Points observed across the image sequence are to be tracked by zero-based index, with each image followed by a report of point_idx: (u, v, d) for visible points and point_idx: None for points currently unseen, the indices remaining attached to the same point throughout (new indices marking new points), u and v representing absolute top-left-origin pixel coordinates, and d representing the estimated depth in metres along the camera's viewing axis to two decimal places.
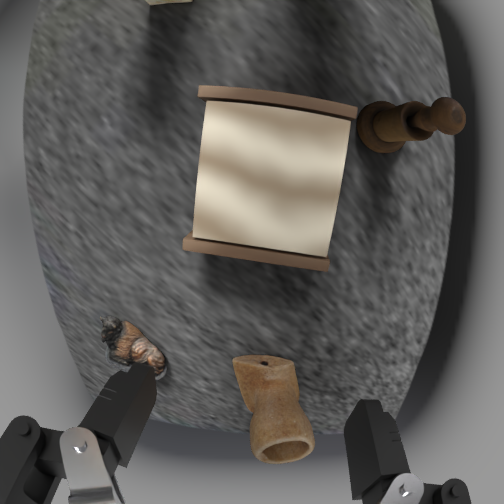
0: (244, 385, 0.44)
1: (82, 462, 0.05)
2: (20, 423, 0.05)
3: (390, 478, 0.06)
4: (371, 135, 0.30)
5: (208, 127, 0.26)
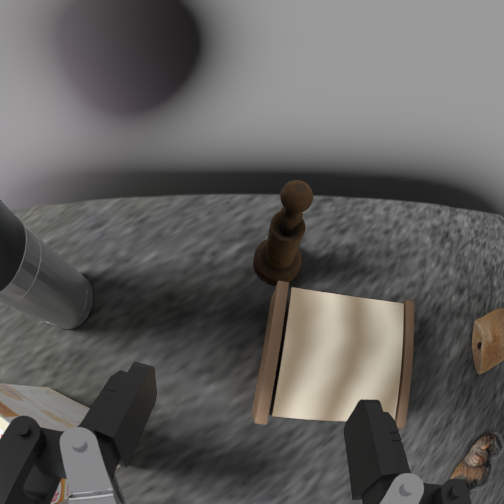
0: (498, 358, 0.33)
1: (82, 462, 0.05)
2: (20, 423, 0.05)
3: (390, 478, 0.06)
4: (289, 270, 0.38)
5: (299, 413, 0.26)
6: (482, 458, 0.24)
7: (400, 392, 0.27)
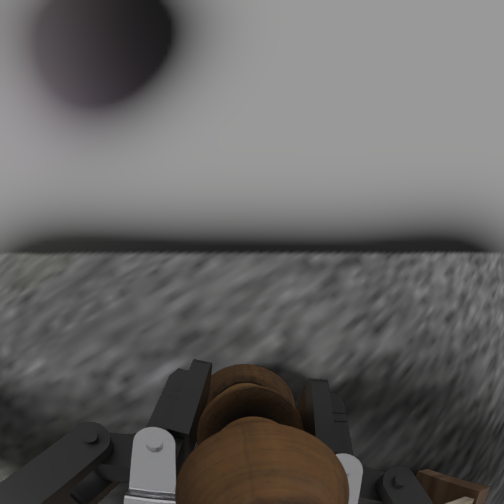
0: None
1: (162, 462, 0.06)
2: (88, 430, 0.06)
3: None
4: None
5: None
6: None
7: None
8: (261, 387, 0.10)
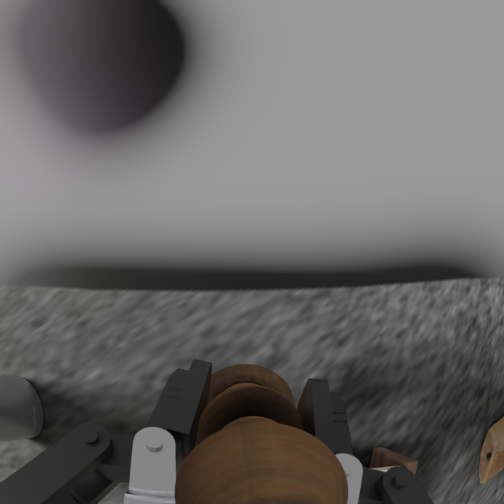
0: None
1: (162, 462, 0.06)
2: (88, 430, 0.06)
3: None
4: None
5: None
6: None
7: None
8: (261, 387, 0.10)
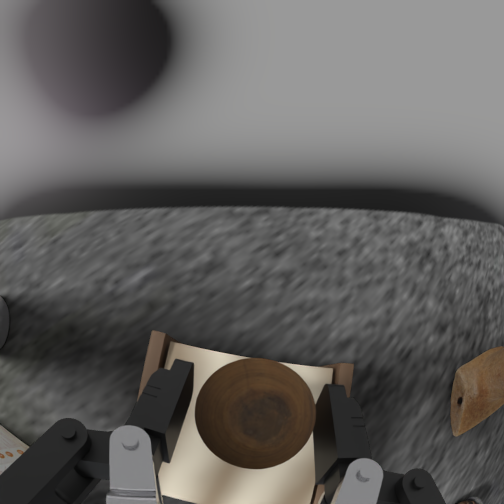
0: (484, 414, 0.24)
1: (137, 461, 0.06)
2: (66, 426, 0.06)
3: (349, 462, 0.07)
4: None
5: (173, 492, 0.17)
6: None
7: None
8: None
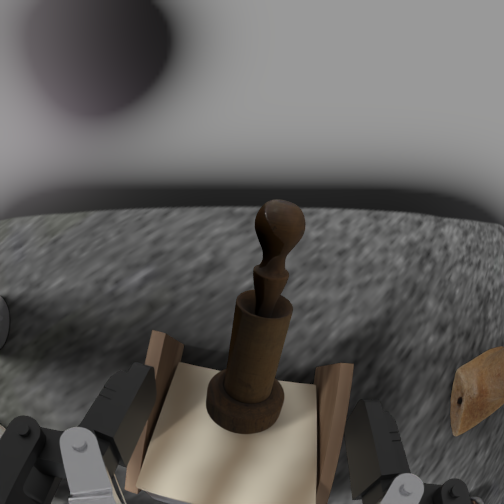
0: (483, 414, 0.24)
1: (82, 462, 0.05)
2: (19, 423, 0.05)
3: (390, 478, 0.06)
4: (265, 405, 0.20)
5: (170, 491, 0.15)
6: None
7: (318, 483, 0.18)
8: None
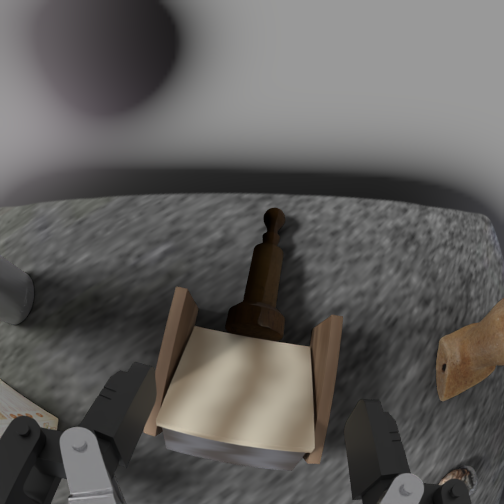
0: (468, 383, 0.30)
1: (82, 462, 0.05)
2: (20, 423, 0.05)
3: (390, 478, 0.06)
4: (273, 307, 0.32)
5: (187, 424, 0.21)
6: None
7: (315, 423, 0.24)
8: None
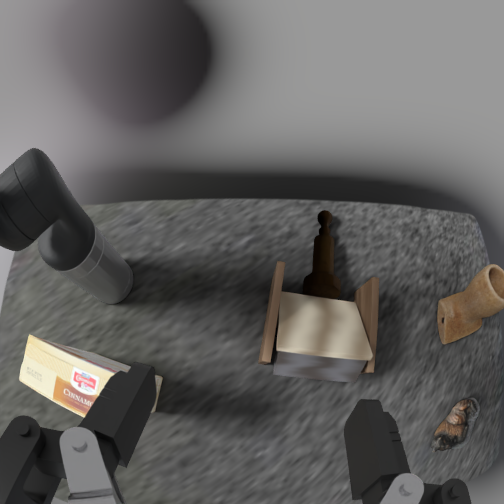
0: (461, 332, 0.46)
1: (82, 462, 0.05)
2: (19, 424, 0.05)
3: (390, 478, 0.06)
4: None
5: (297, 345, 0.38)
6: (461, 418, 0.37)
7: None
8: None
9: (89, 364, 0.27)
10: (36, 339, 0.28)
